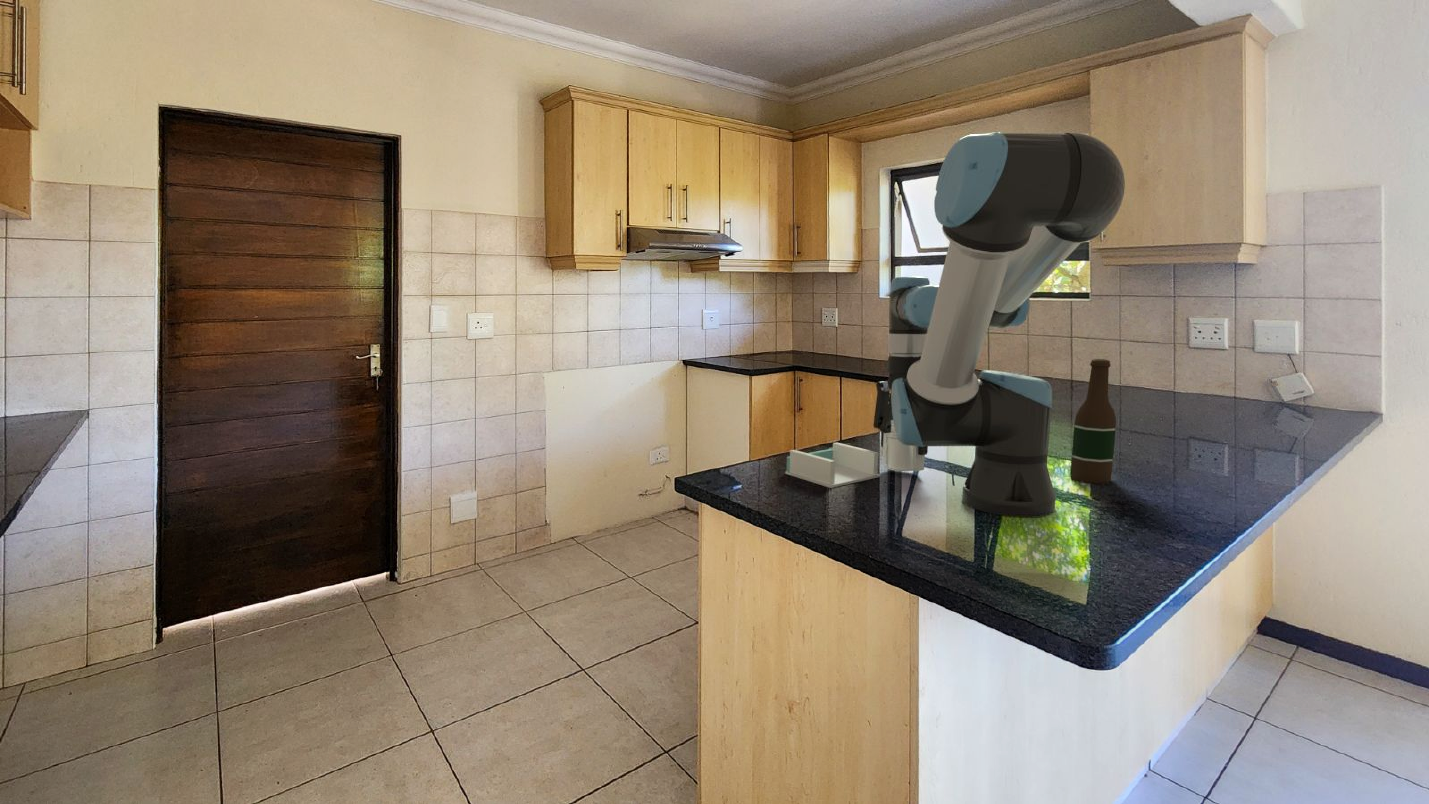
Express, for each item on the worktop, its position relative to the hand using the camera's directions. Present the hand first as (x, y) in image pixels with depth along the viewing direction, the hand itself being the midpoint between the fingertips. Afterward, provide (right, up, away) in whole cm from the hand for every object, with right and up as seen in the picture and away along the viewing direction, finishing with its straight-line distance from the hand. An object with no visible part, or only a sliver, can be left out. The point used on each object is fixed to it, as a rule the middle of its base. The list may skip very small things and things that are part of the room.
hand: (902, 466), depth 145 cm
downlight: (0, 0, 0) cm, 0 cm away
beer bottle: (+37, -2, -4) cm, 37 cm away
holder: (-15, -2, -1) cm, 15 cm away
